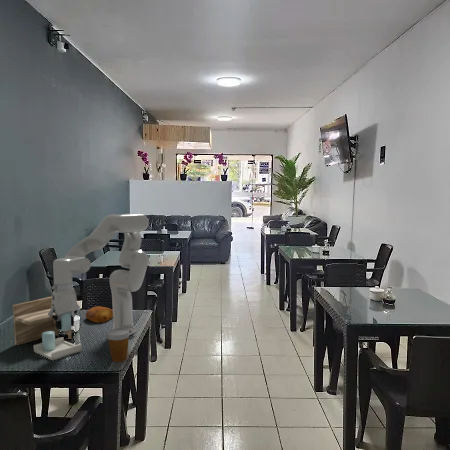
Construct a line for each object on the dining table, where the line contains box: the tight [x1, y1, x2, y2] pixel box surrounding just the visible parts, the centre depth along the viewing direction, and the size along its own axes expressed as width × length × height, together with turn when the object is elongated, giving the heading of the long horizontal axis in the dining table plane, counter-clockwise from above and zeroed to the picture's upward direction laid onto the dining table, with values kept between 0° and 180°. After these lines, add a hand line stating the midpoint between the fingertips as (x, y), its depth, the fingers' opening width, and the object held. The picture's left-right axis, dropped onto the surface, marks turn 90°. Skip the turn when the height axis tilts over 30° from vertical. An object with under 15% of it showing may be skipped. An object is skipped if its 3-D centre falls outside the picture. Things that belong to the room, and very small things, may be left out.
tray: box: [33, 331, 83, 362], centre depth 191 cm, size 16×14×8 cm
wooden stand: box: [12, 295, 72, 346], centre depth 202 cm, size 15×20×19 cm
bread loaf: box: [85, 305, 113, 323], centre depth 237 cm, size 14×16×8 cm
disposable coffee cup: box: [106, 328, 131, 363], centre depth 181 cm, size 10×10×12 cm
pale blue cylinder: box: [59, 312, 72, 331], centre depth 189 cm, size 5×5×8 cm
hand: (65, 326), depth 189 cm, fingers closed on pale blue cylinder, 5 cm apart
